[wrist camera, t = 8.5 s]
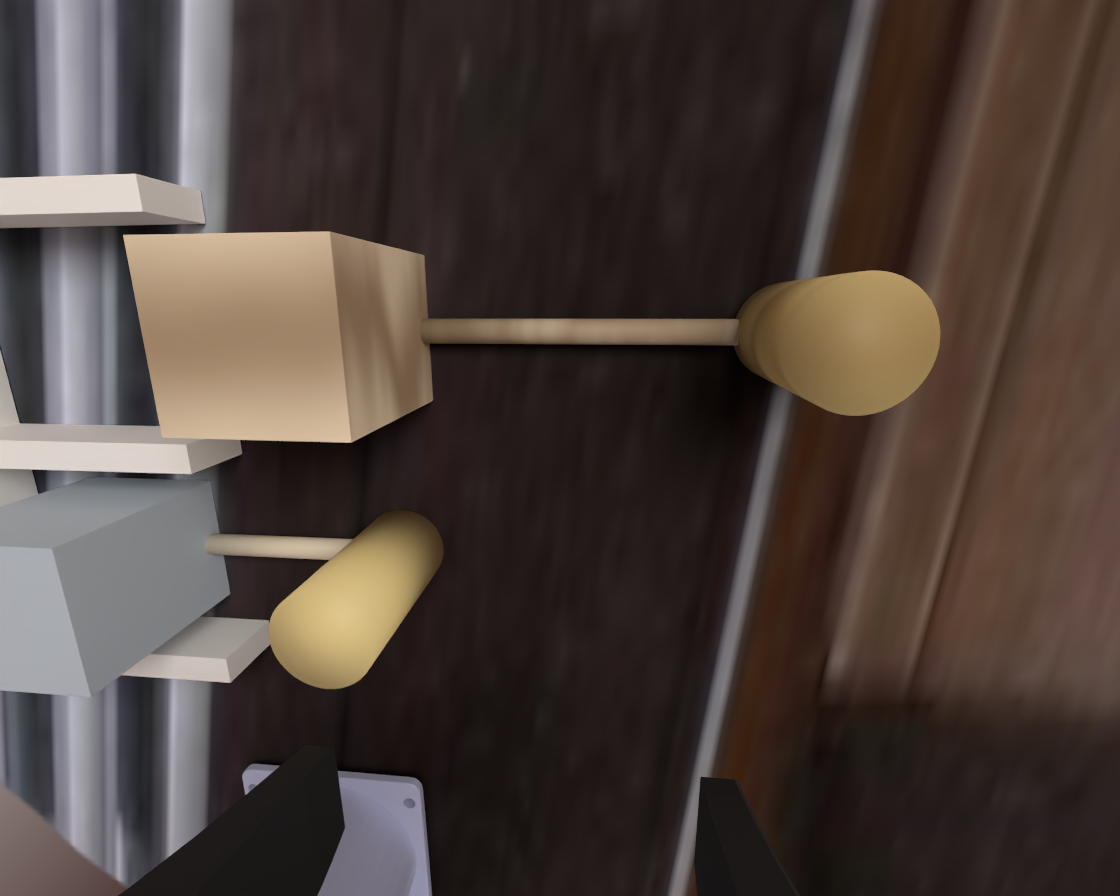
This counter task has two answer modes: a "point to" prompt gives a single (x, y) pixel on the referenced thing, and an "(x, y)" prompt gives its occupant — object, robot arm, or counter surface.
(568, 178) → the counter surface
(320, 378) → the beige long piece
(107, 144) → the counter surface
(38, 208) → the rack
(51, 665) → the grey handled block
